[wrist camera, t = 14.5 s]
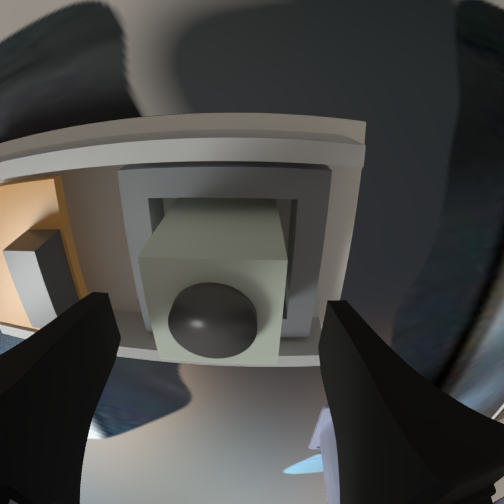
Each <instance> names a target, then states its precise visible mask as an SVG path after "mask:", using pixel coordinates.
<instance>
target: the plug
mask: <svg viewBox="0 0 504 504" xmlns="http://www.w3.org/2000/svg"><path fill="white" fill-rule="evenodd" d="M138 263H139V268H140V274H141V279H142V284H143V289H144V294H145V299H146V304H147V308H148V313H149V317H150V321H151V326H152V330H153V334H154V338H155V342H156V346H157V350H158V354H159V358H160V359H166V360H178V361H191V362H207V363H228V364H277V363H278V354H279V345H280V336H281V326H282V316H283V306H284V296H285V285H286V274H287V263H288V259H287V254H286V248H285V243H284V238H283V232H282V227H281V222H280V217H279V212H278V206H277V201H276V199H269V198H177V199H176V201H175V202H174V204H173V205H172V207H171V208H170V209H169V211H168V212H167V214H166V215H165V217H164V218H163V219H162V221H161V222H160V224H159V225H158V227H157V228H156V230H155V231H154V233H153V234H152V236H151V237H150V239H149V240H148V242H147V243H146V245H145V246H144V248H143V249H142V251H141V252H140V254H139V255H138Z"/></svg>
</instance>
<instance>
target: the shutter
mask: <svg viewBox="0 0 504 504" xmlns="http://www.w3.org/2000/svg"><path fill="white" fill-rule="evenodd" d="M87 295H88V292H87V289H86V285H85V282H84V278H83V275H82V271H81V267H80V264H79V260H78V256H77V252H76V248H75V244H74V240H73V235H72V231H71V226H70V221H69V216H68V211H67V206H66V201H65V195H64V189H63V183H62V176H61V175H54V176H46V177H38V178H31V179H24V180H18V181H11V182H5V183H0V321H1V322H5V323H10V324H14V325H19V326H23V327H28V328H33V329H38V330H40V329H41V328H43V327H44V326H45V325H47V324H48V323H50V322H51V321H52V320H54V319H55V318H56V317H58V316H59V315H60V314H62V313H63V312H64V311H66V310H67V309H68V308H70V307H71V306H73V305H74V304H75V303H77V302H78V301H80V300H81V299H82V298H84V297H85V296H87Z"/></svg>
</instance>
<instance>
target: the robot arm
mask: <svg viewBox="0 0 504 504" xmlns="http://www.w3.org/2000/svg"><path fill="white" fill-rule="evenodd" d="M120 341H121V335H120V332H119V329H118V326H117V322H116V319H115V316H114V312H113V309H112V305H111V302H110V298H109V295H108V293H103V292H92V293H90V294H88V295H87V296H85V297H84V298H82V299H81V300H80V301H78V302H77V303H75V304H74V305H73V306H71V307H70V308H68V309H67V310H66V311H64V312H63V313H62V314H60V315H59V316H58V317H56V318H55V319H54V320H52V321H51V322H50V323H48V324H47V325H45V326H44V327H43V328H41V329H40V330H38V331H37V332H35V333H34V334H33V335H31V336H30V337H28V338H27V339H25V340H24V341H22V342H21V343H19V344H18V345H16V346H15V347H13V348H11V349H9V350H8V351H6V352H4V353H3V354H1V355H0V504H80V483H81V473H82V465H83V458H84V452H85V447H86V442H87V437H88V433H89V429H90V425H91V421H92V418H93V415H94V412H95V409H96V407H97V404H98V402H99V399H100V397H101V394H102V392H103V389H104V387H105V385H106V382H107V380H108V377H109V375H110V372H111V370H112V368H113V365H114V363H115V359H116V356H117V352H118V349H119V345H120ZM318 350H319V360H320V369H321V375H322V379H323V384H324V388H325V392H326V396H327V401H328V405H325V406H324V407H323V408H322V410H321V413H320V416H319V419H318V421H317V424H316V427H315V429H314V432H313V435H312V437H311V440H310V442H309V449H311V450H312V449H321V454H322V461H323V469H324V477H325V485H326V494H327V502H328V504H504V497H502V498H500V499H499V500H497V501H495V502H494V503H493V502H492V499H491V496H492V495H494V494H495V493H496V489H495V486H494V483H495V482H497V481H498V480H499V479H501V478H502V477H503V476H504V424H502V423H500V422H498V421H495V420H493V419H491V418H488V417H486V416H484V415H482V414H480V413H478V412H476V411H475V410H473V409H471V408H469V407H467V406H465V405H464V404H462V403H460V402H459V401H457V400H455V399H454V398H452V397H451V396H449V395H448V394H446V393H445V392H443V391H442V390H440V389H439V388H437V387H436V386H435V385H433V384H432V383H430V382H429V381H428V380H427V379H425V378H424V377H423V376H422V375H420V374H419V373H418V372H417V371H415V370H414V369H413V368H412V367H411V366H409V365H408V364H407V363H406V362H405V361H404V360H403V359H402V358H401V357H400V356H398V355H397V354H396V353H395V352H394V351H393V350H392V349H391V348H390V347H389V346H388V345H387V344H386V343H385V342H384V341H383V340H382V339H381V338H380V337H379V336H378V335H377V334H376V333H375V332H374V330H373V329H372V328H371V327H370V326H369V325H368V324H367V323H366V322H365V321H364V320H363V319H362V317H361V316H360V315H359V314H358V313H357V312H356V311H355V310H354V309H353V308H352V306H351V305H350V304H349V303H348V302H347V301H346V300H327V306H326V311H325V316H324V321H323V326H322V330H321V335H320V340H319V344H318Z"/></svg>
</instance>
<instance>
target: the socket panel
mask: <svg viewBox="0 0 504 504" xmlns="http://www.w3.org/2000/svg"><path fill="white" fill-rule="evenodd" d="M365 131H366V122H364V121H359V120H351V119H343V118H333V117H323V116H312V115H311V116H310V115H298V114H297V115H296V114H279V113H244V112H237V113H236V112H233V113H232V112H231V113H228V112H226V113H224V112H223V113H189V114H173V115H158V116H146V117H136V118H127V119H119V120H111V121H104V122H97V123H91V124H84V125H78V126H73V127H67V128H62V129H57V130H52V131H47V132H43V133H38V134H34V135H30V136H26V137H22V138H18V139H14V140H10V141H6V142H3V143H0V183H5V182H11V181H18V180H24V179H31V178H38V177H46V176H54V175H61V176H62V183H63V189H64V195H65V201H66V206H67V211H68V216H69V221H70V226H71V231H72V235H73V240H74V244H75V248H76V252H77V256H78V260H79V264H80V267H81V271H82V275H83V278H84V282H85V285H86V289H87V292H88V294H90V293H92V292H103V293H108V295H109V298H110V302H111V305H112V309H113V312H114V316H115V319H116V322H117V326H118V329H119V332H120V335H121V341H120V345H119V349H118V352H117V356H120V357H128V358H136V359H144V360H154V361H164V362H175V363H188V364H202V365H221V366H256V367H260V366H261V367H287V366H288V367H289V366H320V360H319V350H318V344H319V340H320V335H321V330H322V326H323V321H324V316H325V311H326V306H327V300H340V297H341V292H342V287H343V282H344V277H345V272H346V267H347V262H348V257H349V251H350V246H351V239H352V234H353V228H354V221H355V214H356V208H357V201H358V194H359V187H360V179H361V170H362V168H363V166H364V158H365V149H366V146H365V145H364V142H365ZM177 198H269V199H276V201H277V206H278V212H279V217H280V222H281V227H282V232H283V238H284V243H285V248H286V254H287V259H288V263H287V274H286V285H285V296H284V306H283V316H282V326H281V336H280V345H279V354H278V363H277V364H228V363H207V362H191V361H178V360H166V359H160V358H159V354H158V350H157V346H156V342H155V338H154V334H153V330H152V326H151V321H150V317H149V313H148V308H147V304H146V299H145V294H144V289H143V284H142V279H141V274H140V268H139V263H138V255H139V254H140V252H141V251H142V249H143V248H144V246H145V245H146V243H147V242H148V240H149V239H150V237H151V236H152V234H153V233H154V231H155V230H156V228H157V227H158V225H159V224H160V222H161V221H162V219H163V218H164V217H165V215H166V214H167V212H168V211H169V209H170V208H171V207H172V205H173V204H174V202H175V201H176V199H177ZM0 330H1V331H2V333H3V334H7V335H11V336H15V337H19V338H23V339H27V338H28V337H30V336H31V335H33V334H34V333H35V332H37V331H38V329H33V328H28V327H23V326H19V325H14V324H10V323H5V322H1V321H0Z"/></svg>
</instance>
